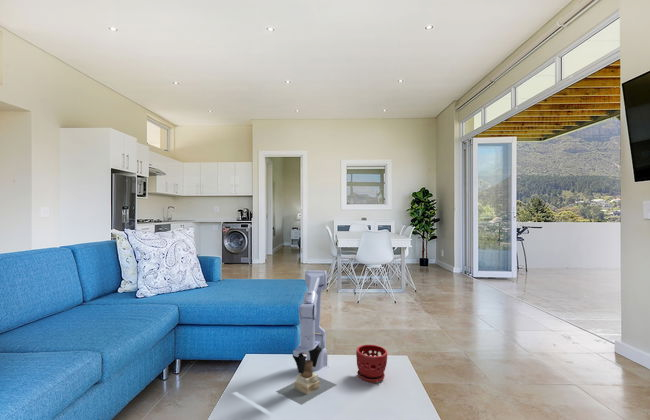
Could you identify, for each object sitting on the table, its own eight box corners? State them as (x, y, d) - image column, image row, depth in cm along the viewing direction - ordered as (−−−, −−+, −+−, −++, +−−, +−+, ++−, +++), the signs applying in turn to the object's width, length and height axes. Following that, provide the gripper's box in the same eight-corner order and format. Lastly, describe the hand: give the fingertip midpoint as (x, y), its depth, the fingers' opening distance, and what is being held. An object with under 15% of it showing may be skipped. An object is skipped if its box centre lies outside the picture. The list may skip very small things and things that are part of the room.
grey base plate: (311, 376, 145) (311, 374, 145) (336, 387, 136) (336, 384, 136) (275, 394, 130) (275, 391, 130) (301, 407, 121) (301, 404, 121)
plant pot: (352, 382, 140) (352, 352, 141) (361, 369, 153) (361, 342, 153) (383, 388, 136) (383, 357, 136) (390, 374, 148) (390, 346, 148)
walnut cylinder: (306, 371, 136) (306, 359, 137) (314, 374, 134) (314, 361, 134) (299, 375, 133) (299, 362, 133) (307, 378, 130) (307, 365, 130)
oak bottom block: (306, 382, 138) (307, 375, 138) (319, 387, 134) (319, 381, 134) (294, 388, 133) (294, 381, 133) (307, 394, 128) (307, 387, 128)
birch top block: (307, 376, 138) (307, 370, 138) (317, 381, 134) (317, 374, 134) (296, 381, 133) (296, 375, 133) (307, 386, 129) (307, 380, 129)
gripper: (311, 328, 142) (311, 360, 142) (287, 337, 131) (287, 373, 130) (324, 331, 138) (324, 365, 137) (301, 341, 126) (301, 378, 126)
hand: (307, 369), depth 133 cm, fingers open, 7 cm apart
